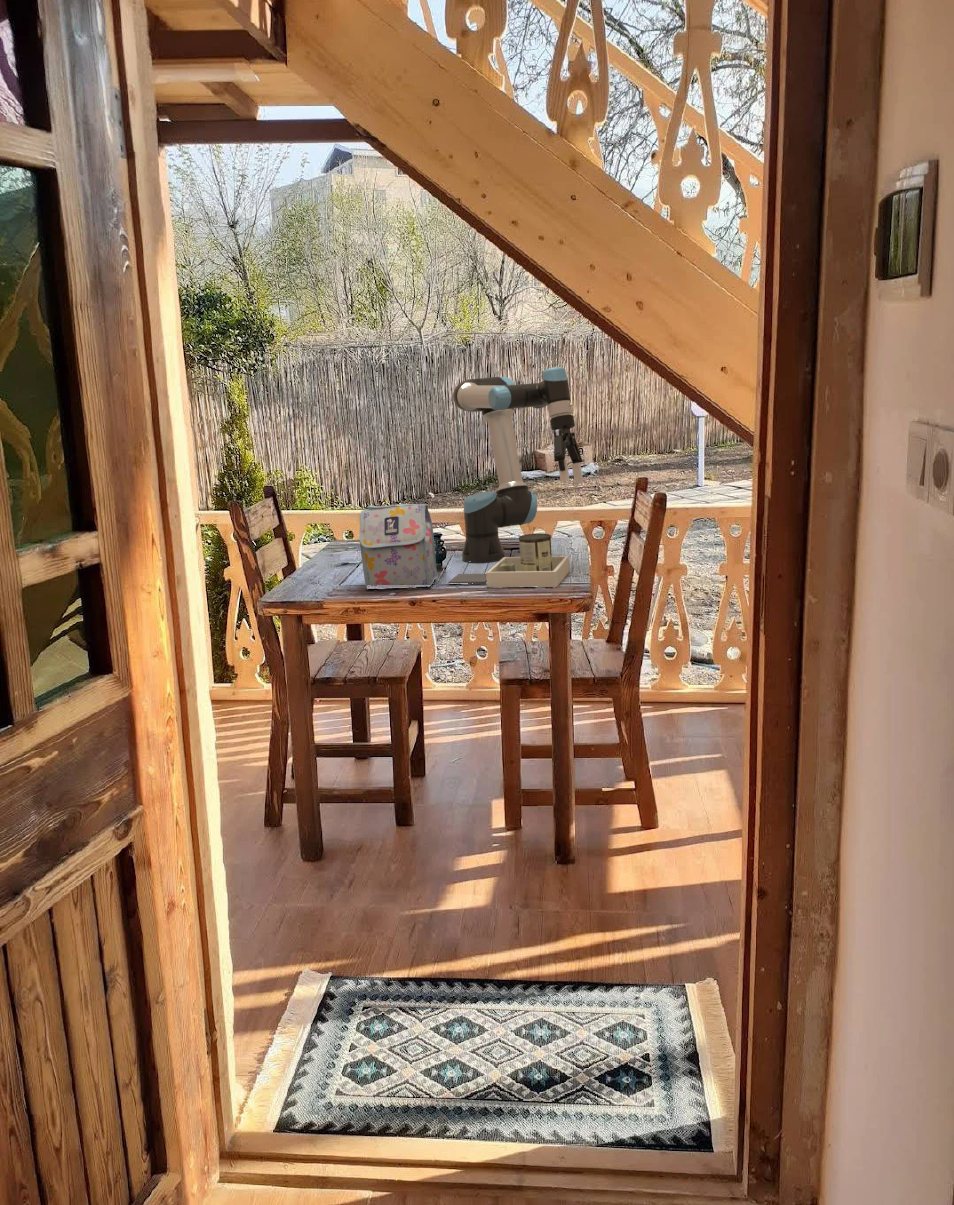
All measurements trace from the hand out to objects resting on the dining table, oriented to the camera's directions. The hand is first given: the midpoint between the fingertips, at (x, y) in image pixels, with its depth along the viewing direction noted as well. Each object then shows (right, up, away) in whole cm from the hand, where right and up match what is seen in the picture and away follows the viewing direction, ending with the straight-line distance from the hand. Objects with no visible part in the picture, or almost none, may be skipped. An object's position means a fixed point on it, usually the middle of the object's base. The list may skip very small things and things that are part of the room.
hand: (572, 482), depth 329 cm
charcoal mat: (-32, -31, +7) cm, 45 cm away
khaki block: (-20, -31, +5) cm, 37 cm away
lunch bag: (-55, -33, +6) cm, 65 cm away
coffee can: (-11, -31, +2) cm, 33 cm away
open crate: (-14, -31, +3) cm, 34 cm away
